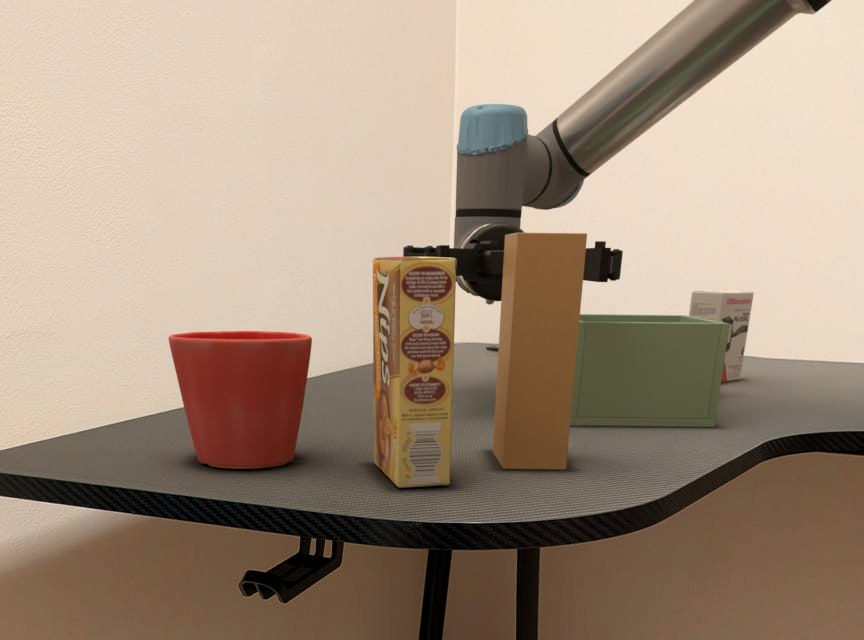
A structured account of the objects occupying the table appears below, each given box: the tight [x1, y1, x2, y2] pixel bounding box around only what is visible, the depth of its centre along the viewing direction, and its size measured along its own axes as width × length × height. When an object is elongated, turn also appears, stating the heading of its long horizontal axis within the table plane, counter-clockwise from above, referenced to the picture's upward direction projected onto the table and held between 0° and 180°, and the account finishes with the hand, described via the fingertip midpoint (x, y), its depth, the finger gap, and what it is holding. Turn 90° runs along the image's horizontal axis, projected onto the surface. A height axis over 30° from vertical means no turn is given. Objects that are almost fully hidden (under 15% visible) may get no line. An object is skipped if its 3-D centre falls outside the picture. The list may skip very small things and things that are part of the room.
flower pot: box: [168, 330, 313, 470], centre depth 72 cm, size 11×11×10 cm
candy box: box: [372, 256, 457, 489], centre depth 66 cm, size 9×4×15 cm, turn 13°
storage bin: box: [570, 313, 730, 428], centre depth 95 cm, size 15×14×10 cm
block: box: [492, 232, 588, 471], centre depth 71 cm, size 5×7×17 cm
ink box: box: [688, 288, 754, 383], centre depth 124 cm, size 8×5×12 cm, turn 134°
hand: (524, 263), depth 77 cm, fingers open, 13 cm apart
